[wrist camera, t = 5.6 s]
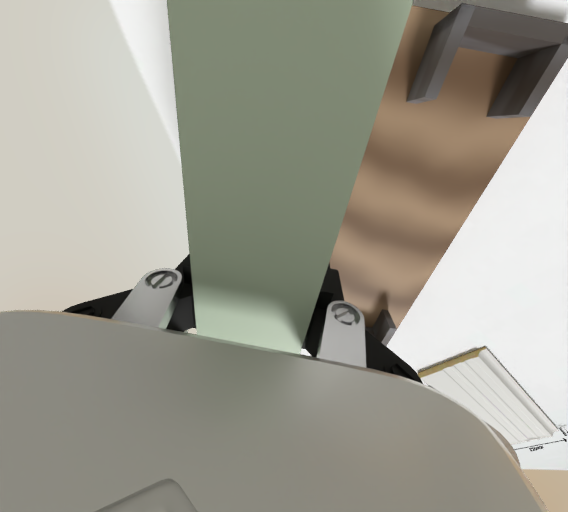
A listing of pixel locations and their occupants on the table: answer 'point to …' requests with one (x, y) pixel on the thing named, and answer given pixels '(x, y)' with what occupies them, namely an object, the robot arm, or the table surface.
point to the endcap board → (438, 147)
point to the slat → (273, 149)
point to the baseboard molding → (491, 396)
